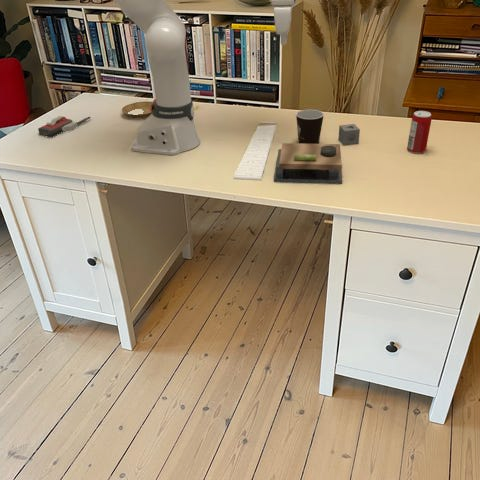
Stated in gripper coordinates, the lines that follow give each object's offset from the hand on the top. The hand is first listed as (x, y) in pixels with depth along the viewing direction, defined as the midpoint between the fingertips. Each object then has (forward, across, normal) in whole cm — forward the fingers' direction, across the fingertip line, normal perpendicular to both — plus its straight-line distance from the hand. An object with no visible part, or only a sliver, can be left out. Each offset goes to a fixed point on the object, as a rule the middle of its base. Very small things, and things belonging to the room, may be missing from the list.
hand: (283, 43), depth 152 cm
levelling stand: (+29, +28, +9) cm, 41 cm away
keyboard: (+30, +12, -7) cm, 33 cm away
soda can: (+29, +12, +42) cm, 53 cm away
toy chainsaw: (+30, -3, -80) cm, 85 cm away
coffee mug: (+29, +7, +9) cm, 31 cm away
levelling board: (+25, +28, +9) cm, 39 cm away
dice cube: (+30, +6, +22) cm, 37 cm away
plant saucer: (+30, -18, -55) cm, 65 cm away
